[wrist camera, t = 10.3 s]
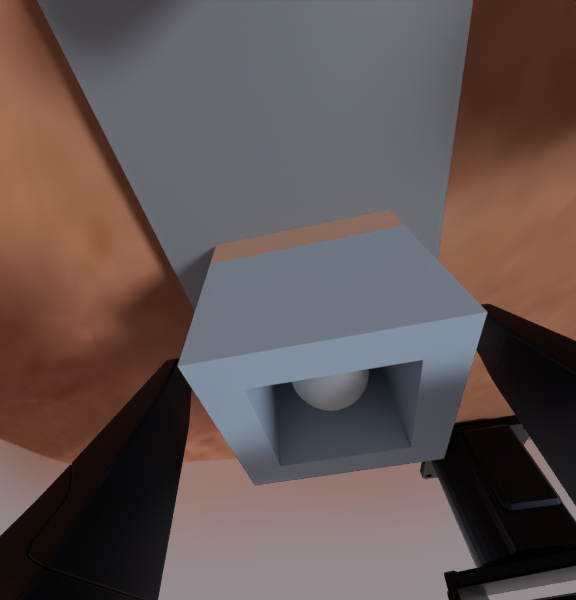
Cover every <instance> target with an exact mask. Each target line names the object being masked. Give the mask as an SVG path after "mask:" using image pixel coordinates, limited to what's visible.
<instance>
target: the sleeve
mask: <svg viewBox="0 0 576 600" xmlns="http://www.w3.org/2000/svg"><path fill="white" fill-rule="evenodd" d="M486 315H487V311H486V310H485V309H484V308H483V307H482V306H481V305H480V304H479V303H478V302H477V301H476V300H475V298H474V297H473V296H472V295H471V294H470V293H469V292H468V291H467V290H466V289H465V288H464V287H463V286H462V285H461V284H460V283H459V282H458V281H457V280H456V279H455V278H454V277H453V275H452V274H451V273H450V272H449V271H448V270H447V269H446V268H445V267H444V266H443V265H442V264H441V263H440V262H439V261H438V260H437V259H436V258H435V257H434V256H433V255H432V254H431V252H430V251H429V250H428V249H427V248H426V247H425V246H424V245H423V244H422V243H421V242H420V241H419V240H418V239H417V238H416V237H415V236H414V235H413V234H412V233H411V232H410V231H409V229H408V228H407V227H406V226H405V225H404V224H403V223H402V222H401V221H400V220H399V219H398V218H397V217H396V216H395V215H394V214H393V213H392V212H391V211H390V210H388V211H383V212H378V213H373V214H368V215H363V216H358V217H353V218H349V219H344V220H339V221H334V222H329V223H324V224H319V225H314V226H309V227H304V228H300V229H295V230H290V231H285V232H280V233H275V234H270V235H265V236H260V237H255V238H250V239H246V240H241V241H236V242H231V243H226V244H221V245H216V248H215V251H214V254H213V257H212V260H211V263H210V266H209V269H208V273H207V276H206V279H205V282H204V285H203V288H202V291H201V294H200V298H199V301H198V304H197V307H196V310H195V313H194V316H193V319H192V323H191V326H190V329H189V332H188V335H187V338H186V341H185V344H184V347H183V351H182V354H181V357H180V360H179V363H178V368H179V369H180V371H181V372H182V374H183V376H184V377H185V379H186V380H187V382H188V383H189V385H190V386H191V388H192V389H193V391H194V392H195V394H196V396H197V397H198V399H199V400H200V402H201V403H202V405H203V406H204V408H205V409H206V411H207V412H208V414H209V416H210V417H211V419H212V420H213V422H214V423H215V425H216V426H217V428H218V429H219V431H220V433H221V434H222V436H223V437H224V439H225V440H226V442H227V443H228V445H229V446H230V448H231V449H232V451H233V453H234V454H235V456H236V457H237V459H238V460H239V462H240V463H241V465H242V466H243V468H244V469H245V471H246V472H247V474H248V476H249V477H250V479H251V480H252V482H253V483H254V485H261V484H268V483H274V482H283V481H289V480H297V479H304V478H311V477H318V476H324V475H332V474H339V473H346V472H353V471H360V470H367V469H374V468H381V467H388V466H395V465H403V464H409V463H417V462H424V461H431V460H438V459H444V457H445V453H446V450H447V447H448V443H449V440H450V436H451V433H452V430H453V426H454V423H455V420H456V416H457V413H458V410H459V406H460V403H461V399H462V396H463V393H464V389H465V386H466V383H467V379H468V376H469V373H470V369H471V366H472V362H473V359H474V356H475V352H476V349H477V346H478V342H479V339H480V336H481V332H482V329H483V325H484V322H485V319H486ZM365 369H369V377H368V382H367V385H366V388H365V390H364V392H363V393H362V395H361V396H360V397H359V399H357V400H356V401H355V402H354V403H353V404H351V405H350V406H348V407H346V408H343V409H340V410H334V411H327V410H321V409H318V408H315V407H313V406H311V405H309V404H308V403H307V402H305V401H304V400H303V399H302V398H301V397H300V396H299V395H298V393H297V392H296V391H295V388H294V386H293V384H292V382H293V381H299V380H305V379H311V378H317V377H323V376H329V375H335V374H341V373H347V372H353V371H359V370H365Z"/></svg>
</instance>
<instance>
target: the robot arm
mask: <svg viewBox="0 0 576 600" xmlns="http://www.w3.org/2000/svg"><path fill="white" fill-rule="evenodd" d="M481 306H482V307H483V308H484V309H485V310H486V311H487V315H486V319H485V322H484V325H483V329H482V332H481V336H480V339H479V342H478V346H477V351H478V353H479V355H480V357H481V359H482V361H483V363H484V365H485V367H486V369H487V371H488V373H489V375H490V376H491V378H492V380H493V381H494V383H495V385H496V386H497V388H498V389H499V391H500V392H501V394H502V395H503V397H504V398H505V400H506V401H507V403H508V404H509V406H510V407H511V409H512V410H513V412H514V413H515V415H516V416H517V418H513V419H506V420H499V421H493V422H486V423H479V424H473V425H466V426H459V427H453V430H452V433H451V436H450V440H449V443H448V447H447V450H446V453H445V457H444V459H438V460H431V461H424V462H422V464H421V469H420V472H421V475H422V477H423V478H425V479H427V478H435V477H438V479H439V481H440V483H441V486H442V488H443V490H444V493H445V495H446V498H447V500H448V502H449V504H450V507H451V509H452V511H453V514H454V516H455V518H456V521H457V523H458V525H459V528H460V530H461V532H462V534H463V537H464V539H465V542H466V544H467V546H468V548H469V551H470V553H471V556H472V558H473V560H474V563H475V565H476V567H477V568H474V569H469V570H465V571H460V572H456V571H449V572H445V573H444V576H445V580H446V583H447V588H448V592H447V594H448V598H449V600H489V598H488V595H493V594H499V593H504V592H510V591H516V590H521V589H527V588H532V587H538V586H544V585H549V584H555V583H561V582H566V581H572V580H576V521H575V519H574V518H573V517H572V515H571V514H570V512H569V511H568V509H567V508H566V506H565V505H564V504H563V502H562V501H561V499H560V496H558V494H557V492H556V491H555V489H554V488H553V487H552V485H551V484H550V482H549V481H548V479H547V478H546V477H545V475H544V474H543V472H542V471H541V469H540V468H539V467H538V465H537V464H536V462H535V461H534V460H533V458H532V457H531V455H530V454H529V452H528V451H527V450H526V448H525V447H524V444H525V442H526V440H527V439H528V437H529V436H530V438H531V439H532V441H533V442H534V444H535V445H536V447H537V448H538V450H539V451H540V453H541V454H542V456H543V457H544V459H545V460H546V462H547V463H548V465H549V466H550V468H551V469H552V471H553V472H554V474H555V475H556V477H557V478H558V480H559V481H560V483H561V484H562V486H563V487H564V489H565V490H566V492H567V493H568V495H569V496H570V498H571V499H572V501H573V503H574V504H575V505H576V341H575V340H572V339H570V338H568V337H566V336H563V335H561V334H559V333H556V332H554V331H552V330H549V329H547V328H545V327H542V326H540V325H538V324H535V323H533V322H531V321H528V320H526V319H524V318H521V317H519V316H517V315H514V314H512V313H510V312H507V311H505V310H503V309H501V308H498V307H496V306H494V305H491V304H481ZM179 360H180V358H177V359H171V360H167V361H166V362H165V363H164V364H163V365H162V366H161V367H160V368H159V369H158V370H157V371H156V373H155V374H154V375H153V376H152V377H151V378H150V379H149V380H148V381H147V382H146V383H145V384H144V386H143V387H142V388H141V389H140V390H139V391H138V392H137V393H136V394H135V395H134V396H133V397H132V398H131V400H130V401H129V402H128V403H127V404H126V405H125V406H124V407H123V408H122V409H121V410H120V411H119V413H118V414H117V415H116V416H115V417H114V418H113V419H112V420H111V421H110V422H109V423H108V424H107V425H106V427H105V428H104V429H103V430H102V431H101V432H100V433H99V434H98V435H97V436H96V437H95V438H94V439H93V441H92V442H91V443H90V444H89V445H88V446H87V447H86V448H85V449H84V450H83V451H82V452H81V454H80V455H79V456H78V457H77V458H76V459H75V460H74V461H73V462H72V465H69V467H68V468H67V469H66V470H65V471H64V472H63V473H62V474H61V475H60V476H59V477H58V478H57V479H56V480H55V481H54V482H53V484H52V485H51V486H50V487H49V488H48V489H47V490H46V491H45V492H44V493H43V494H42V495H41V496H40V497H39V498H38V499H37V500H36V501H35V502H34V503H33V504H32V505H31V506H30V507H29V508H28V509H27V510H26V511H25V512H24V513H23V514H22V515H21V516H20V517H19V518H18V519H17V520H16V521H15V522H14V523H13V524H12V525H11V526H10V527H9V528H8V529H7V530H6V531H5V532H4V533H3V534H2V535H1V536H0V600H158V597H159V591H160V586H161V580H162V574H163V568H164V563H165V558H166V552H167V546H168V540H169V535H170V529H171V524H172V519H173V513H174V507H175V502H176V496H177V491H178V485H179V479H180V474H181V468H182V463H183V457H184V452H185V446H186V440H187V435H188V428H189V419H190V405H191V390H192V388H191V386H190V385H189V383H188V382H187V380H186V379H185V377H184V376H183V374H182V372H181V371H180V369H179V368H178V363H179ZM534 600H576V593H570V594H564V595H558V596H552V597H547V598H540V599H534Z"/></svg>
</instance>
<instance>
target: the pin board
mask: <svg viewBox="0 0 576 600" xmlns="http://www.w3.org/2000/svg"><path fill="white" fill-rule="evenodd" d="M37 1H38V3H39V5H40V7H41V9H42V11H43V13H44V15H45V17H46V19H47V21H48V23H49V25H50V27H51V29H52V31H53V33H54V35H55V37H56V39H57V41H58V43H59V45H60V47H61V49H62V51H63V53H64V55H65V57H66V59H67V61H68V63H69V65H70V67H71V68H72V70H73V72H74V74H75V76H76V78H77V80H78V82H79V84H80V86H81V88H82V90H83V92H84V94H85V96H86V98H87V100H88V102H89V104H90V106H91V108H92V110H93V112H94V114H95V116H96V118H97V120H98V122H99V124H100V126H101V128H102V130H103V132H104V134H105V136H106V138H107V140H108V142H109V143H110V145H111V147H112V149H113V151H114V153H115V155H116V157H117V159H118V161H119V163H120V165H121V167H122V169H123V171H124V173H125V175H126V177H127V179H128V181H129V183H130V185H131V187H132V189H133V191H134V193H135V195H136V197H137V199H138V201H139V203H140V205H141V207H142V209H143V211H144V213H145V215H146V217H147V218H148V220H149V222H150V224H151V226H152V228H153V230H154V232H155V234H156V236H157V238H158V240H159V242H160V244H161V246H162V248H163V250H164V252H165V254H166V256H167V258H168V260H169V262H170V264H171V266H172V268H173V270H174V272H175V274H176V276H177V278H178V280H179V282H180V284H181V286H182V288H183V290H184V291H185V293H186V295H187V297H188V299H189V301H190V303H191V305H192V307H193V309H194V311H195V310H196V307H197V304H198V301H199V298H200V294H201V291H202V288H203V285H204V282H205V279H206V276H207V273H208V269H209V266H210V263H211V260H212V257H213V254H214V251H215V248H216V245H221V244H226V243H231V242H236V241H241V240H246V239H250V238H255V237H260V236H265V235H270V234H275V233H280V232H285V231H290V230H295V229H300V228H304V227H309V226H314V225H319V224H324V223H329V222H334V221H339V220H344V219H349V218H353V217H358V216H363V215H368V214H373V213H378V212H383V211H388V210H390V211H391V212H392V213H393V214H394V215H395V216H396V217H397V218H398V219H399V220H400V221H401V222H402V223H403V224H404V225H405V226H406V227H407V228H408V229H409V231H410V232H411V233H412V234H413V235H414V236H415V237H416V238H417V239H418V240H419V241H420V242H421V243H422V244H423V245H424V246H425V247H426V248H427V249H428V250H429V251H430V252H431V254H432V255H433V256H434V257H435V258H436V259H438V252H439V245H440V237H441V230H442V223H443V216H444V208H445V201H446V194H447V187H448V180H449V172H450V165H451V158H452V151H453V143H454V136H455V129H456V122H457V115H458V107H459V100H460V93H461V86H462V79H463V71H464V64H465V57H466V50H467V42H468V35H469V28H470V21H471V14H472V6H473V0H37ZM368 377H369V369H365V370H359V371H353V372H347V373H341V374H335V375H329V376H323V377H317V378H311V379H305V380H299V381H293V382H292V384H293V386H294V388H295V391H296V392H297V393H298V395H299V396H300V397H301V398H302V399H303V400H304V401H305V402H307V403H308V404H309V405H311V406H313V407H315V408H318V409H321V410H327V411H334V410H340V409H343V408H346V407H348V406H350V405H351V404H353V403H354V402H355V401H356V400H357V399H359V397H360V396H361V395H362V393H363V392H364V390H365V388H366V385H367V382H368Z"/></svg>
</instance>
